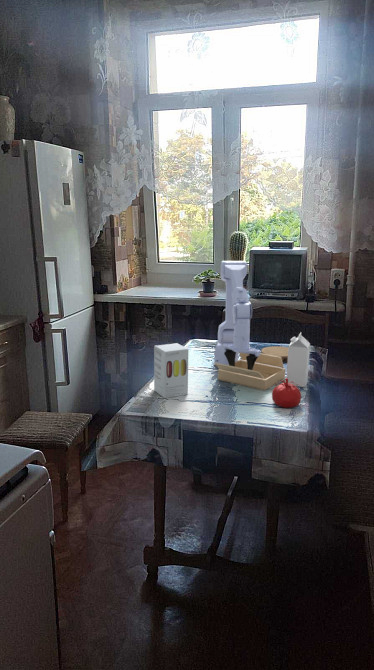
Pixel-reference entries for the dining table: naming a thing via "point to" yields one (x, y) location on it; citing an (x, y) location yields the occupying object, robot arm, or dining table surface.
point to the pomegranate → (286, 395)
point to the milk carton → (298, 361)
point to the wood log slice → (277, 352)
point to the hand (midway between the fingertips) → (240, 371)
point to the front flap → (239, 370)
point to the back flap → (266, 359)
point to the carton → (268, 372)
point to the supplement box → (171, 370)
